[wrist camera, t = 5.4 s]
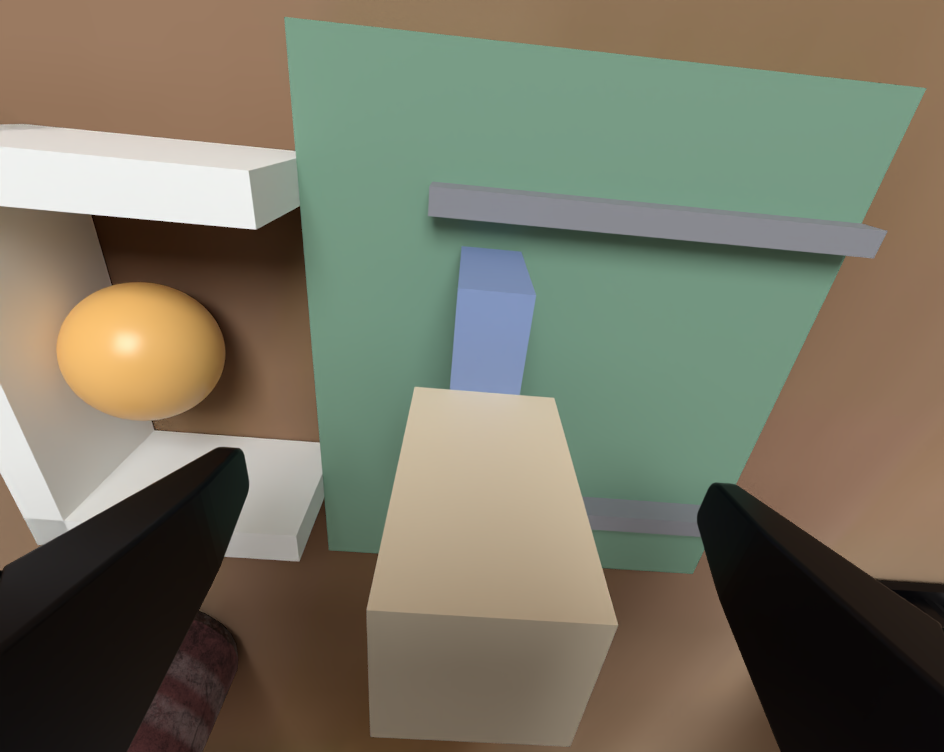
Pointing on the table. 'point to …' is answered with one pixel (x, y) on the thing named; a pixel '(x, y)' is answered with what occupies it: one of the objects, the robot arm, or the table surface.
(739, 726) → the table surface
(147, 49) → the table surface
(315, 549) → the table surface
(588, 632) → the beige and blue block
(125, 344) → the ball
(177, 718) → the can
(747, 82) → the panel
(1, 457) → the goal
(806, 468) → the table surface
